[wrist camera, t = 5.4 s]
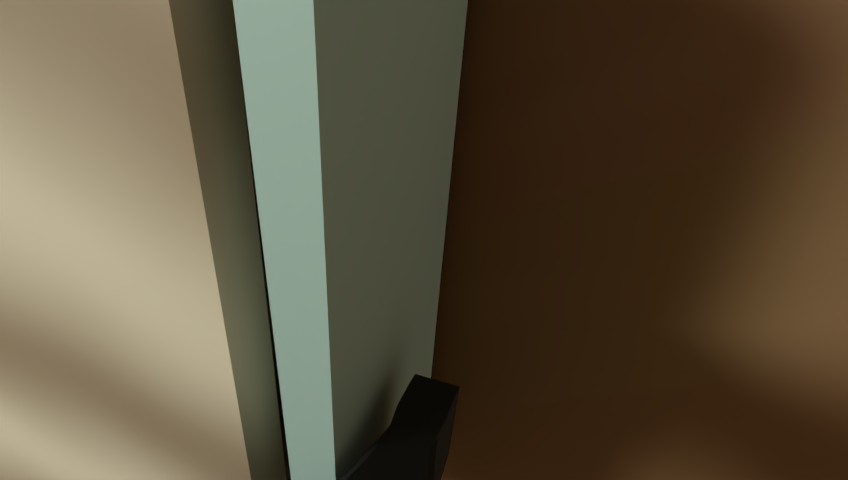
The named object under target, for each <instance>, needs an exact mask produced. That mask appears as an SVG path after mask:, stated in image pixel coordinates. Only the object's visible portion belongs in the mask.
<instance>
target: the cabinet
mask: <svg viewBox="0 0 848 480" xmlns="http://www.w3.org/2000/svg"><path fill="white" fill-rule="evenodd" d="M0 480H291V475H290V467H289V459H288V450H287V442H286V434H285V426H284V417H283V409H282V401H281V393H280V385H279V376H278V368H277V360H276V352H275V343H274V335H273V327H272V319H271V311H270V302H269V294H268V286H267V278H266V269H265V261H264V253H263V245H262V237H261V228H260V220H259V212H258V204H257V195H256V187H255V179H254V171H253V162H252V154H251V146H250V138H249V130H248V121H247V113H246V105H245V97H244V88H243V80H242V72H241V64H240V56H239V47H238V39H237V31H236V23H235V14H234V6H233V0H0Z"/></svg>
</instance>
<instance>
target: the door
mask: <svg viewBox="0 0 848 480" xmlns="http://www.w3.org/2000/svg"><path fill="white" fill-rule="evenodd" d="M467 4H468V0H233V6H234V14H235V23H236V31H237V39H238V47H239V56H240V64H241V72H242V80H243V88H244V97H245V105H246V113H247V121H248V130H249V138H250V146H251V154H252V162H253V171H254V179H255V187H256V195H257V204H258V212H259V220H260V228H261V237H262V245H263V253H264V261H265V269H266V278H267V286H268V294H269V302H270V311H271V319H272V327H273V335H274V343H275V352H276V360H277V368H278V376H279V385H280V393H281V401H282V409H283V417H284V426H285V434H286V442H287V450H288V459H289V467H290V475H291V480H341V479H342V478H343V477H344V476H345V475H346V474H347V473H348V472H349V471H350V470H351V469H352V468H353V467H354V466H355V464H356V463H357V462H358V461H359V460H360V459H361V458H362V457H363V456H364V454H365V453H366V452H367V451H368V450H369V449H370V448H371V447H372V445H373V444H374V443H375V442H376V441H377V440H378V439H379V438H380V436H381V435H382V434H383V433H384V432H385V431H386V429H387V428H388V427H389V426H390V423H391V421H392V418H393V415H394V413H395V410H396V407H397V405H398V403H399V401H400V399H401V397H402V396H403V394H404V392H405V390H406V388H407V387H408V385H409V383H410V381H411V380H412V378H413V376H414V375H415V374H417V375H421V376H424V377H428V378H431V372H432V362H433V352H434V342H435V331H436V321H437V311H438V301H439V290H440V280H441V270H442V260H443V250H444V239H445V229H446V219H447V209H448V198H449V188H450V178H451V168H452V158H453V147H454V137H455V127H456V117H457V106H458V96H459V86H460V76H461V66H462V55H463V45H464V35H465V25H466V14H467Z"/></svg>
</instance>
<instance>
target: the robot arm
mask: <svg viewBox="0 0 848 480" xmlns="http://www.w3.org/2000/svg"><path fill="white" fill-rule="evenodd" d="M458 392H459V387H458V386H455V385H451V384H448V383H444V382H441V381H438V380H434V379H431V378H428V377H424V376H421V375H417V374H415V375H414V376H413V378H412V380H411V381H410V383H409V385H408V387H407V388H406V390H405V392H404V394H403V396H402V397H401V399H400V401H399V403H398V405H397V407H396V410H395V413H394V415H393V418H392V421H391V423H390V426H389V427H388V428H387V429H386V431H385V432H384V433H383V434H382V435H381V436H380V438H379V439H378V440H377V441H376V442H375V443H374V444H373V445H372V447H371V448H370V449H369V450H368V451H367V452H366V453H365V454H364V456H363V457H362V458H361V459H360V460H359V461H358V462H357V463H356V464H355V466H354V467H353V468H352V469H351V470H350V471H349V472H348V473H347V474H346V475H345V476H344V477H343V478H342V479H341V480H441V477H442V473H443V470H444V467H445V463H446V460H447V456H448V453H449V447H450V441H451V435H452V429H453V422H454V416H455V410H456V404H457V398H458Z"/></svg>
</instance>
